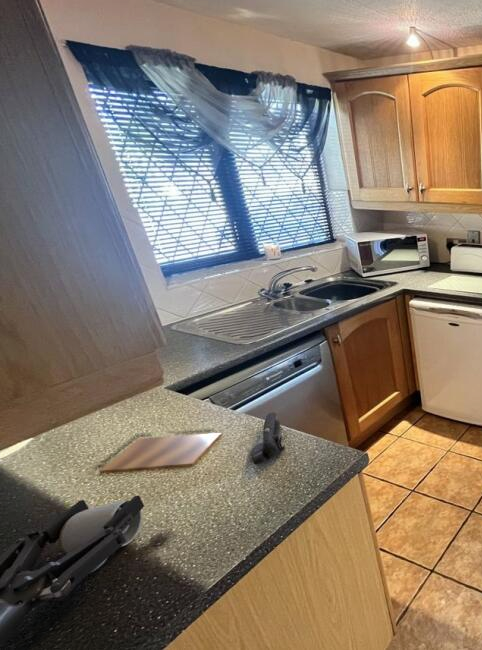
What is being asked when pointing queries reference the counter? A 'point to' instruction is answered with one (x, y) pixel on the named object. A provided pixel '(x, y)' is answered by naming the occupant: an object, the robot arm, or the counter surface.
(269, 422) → the can opener
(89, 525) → the ceramic mug
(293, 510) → the counter surface
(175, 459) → the oak board
